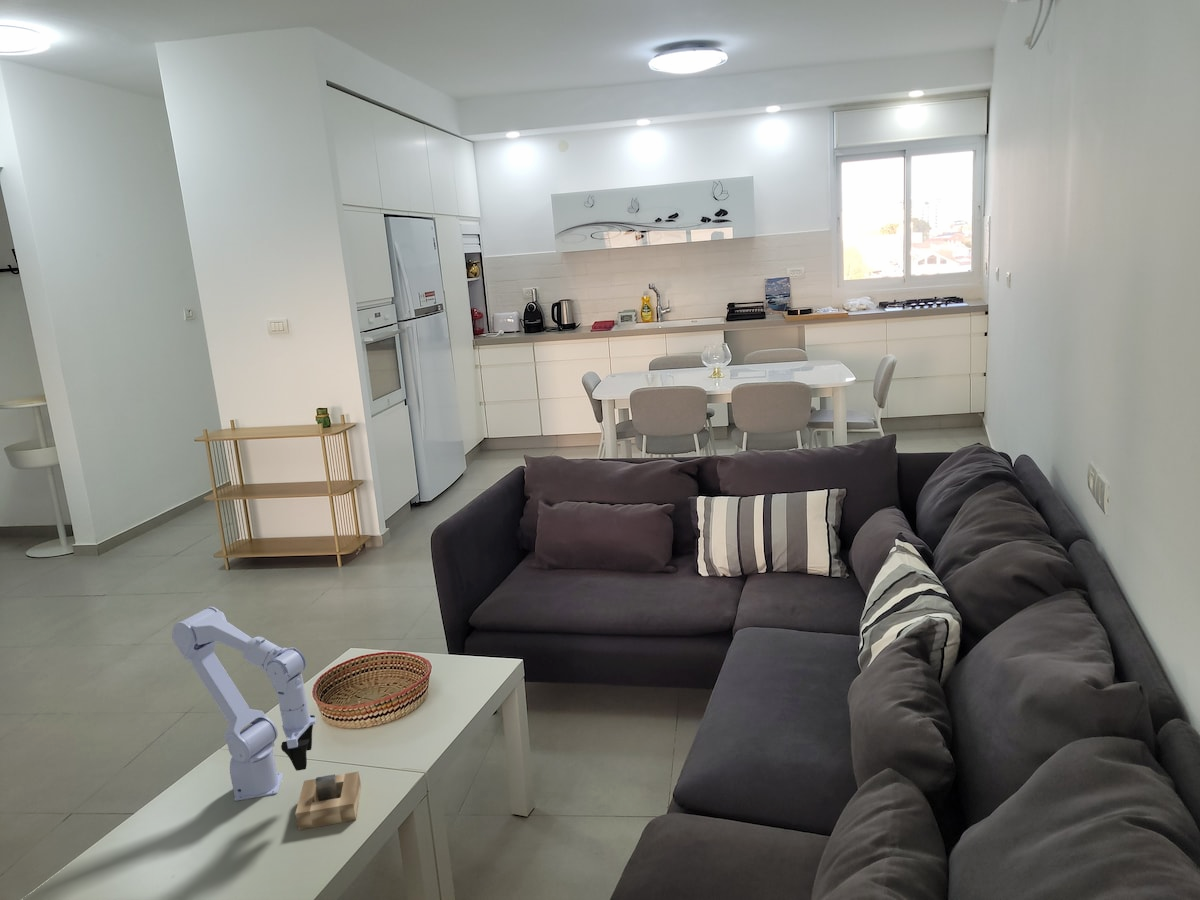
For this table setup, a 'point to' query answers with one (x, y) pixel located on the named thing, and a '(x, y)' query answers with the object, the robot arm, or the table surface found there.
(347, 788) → the well block
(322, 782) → the grey block
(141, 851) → the table surface
